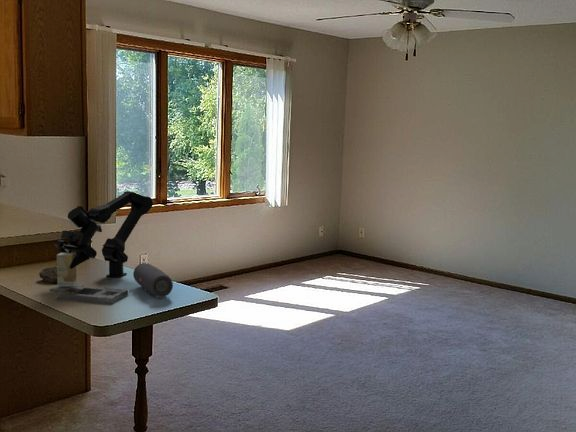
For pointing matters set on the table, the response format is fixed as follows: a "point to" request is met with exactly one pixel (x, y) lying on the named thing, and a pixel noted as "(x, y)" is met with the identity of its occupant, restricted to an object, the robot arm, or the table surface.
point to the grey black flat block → (98, 294)
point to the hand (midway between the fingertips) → (63, 266)
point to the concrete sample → (49, 274)
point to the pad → (63, 287)
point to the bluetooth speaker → (153, 280)
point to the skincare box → (66, 269)
